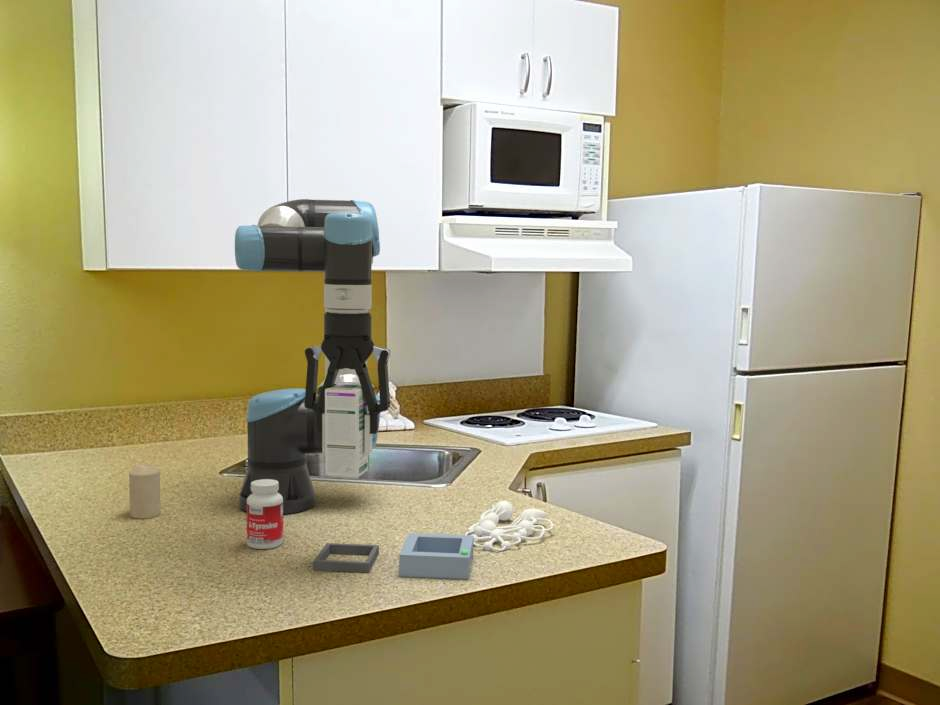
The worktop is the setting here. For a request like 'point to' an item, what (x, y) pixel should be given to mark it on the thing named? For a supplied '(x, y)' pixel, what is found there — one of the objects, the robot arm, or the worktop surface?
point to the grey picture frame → (346, 566)
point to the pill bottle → (264, 515)
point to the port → (436, 556)
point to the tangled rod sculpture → (505, 512)
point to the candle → (144, 491)
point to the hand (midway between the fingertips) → (347, 452)
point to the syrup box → (345, 431)
